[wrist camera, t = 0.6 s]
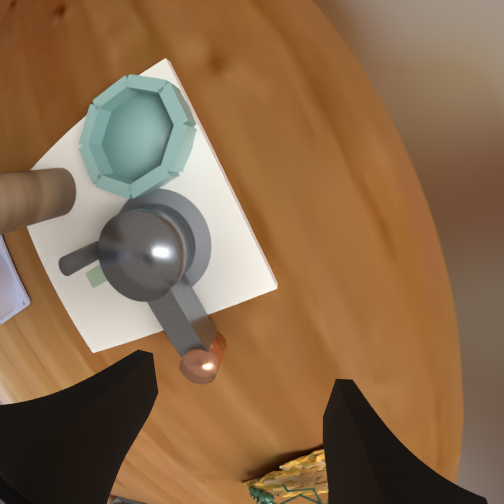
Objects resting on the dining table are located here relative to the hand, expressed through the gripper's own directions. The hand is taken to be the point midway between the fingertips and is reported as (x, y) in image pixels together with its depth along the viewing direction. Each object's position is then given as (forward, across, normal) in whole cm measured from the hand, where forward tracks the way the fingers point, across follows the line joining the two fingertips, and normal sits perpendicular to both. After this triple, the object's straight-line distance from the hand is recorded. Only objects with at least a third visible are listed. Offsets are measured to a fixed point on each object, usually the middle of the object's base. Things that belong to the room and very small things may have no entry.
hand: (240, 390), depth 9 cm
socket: (+9, +8, -9) cm, 15 cm away
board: (+9, +10, -3) cm, 14 cm away
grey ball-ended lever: (+8, +5, 0) cm, 10 cm away
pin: (+9, +15, -6) cm, 18 cm away
